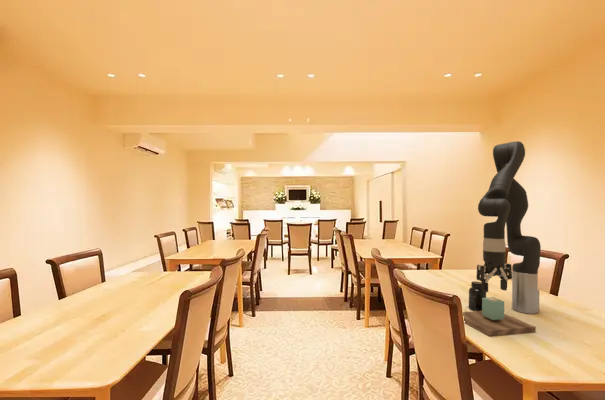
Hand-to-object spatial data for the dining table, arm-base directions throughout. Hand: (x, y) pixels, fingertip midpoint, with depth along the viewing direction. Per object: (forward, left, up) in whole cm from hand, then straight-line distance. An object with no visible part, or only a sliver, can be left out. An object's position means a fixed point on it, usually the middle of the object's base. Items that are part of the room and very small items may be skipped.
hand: (494, 290), depth 120 cm
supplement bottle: (-7, -16, -14) cm, 22 cm away
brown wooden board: (0, 0, -13) cm, 13 cm away
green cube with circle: (0, 0, -10) cm, 10 cm away
